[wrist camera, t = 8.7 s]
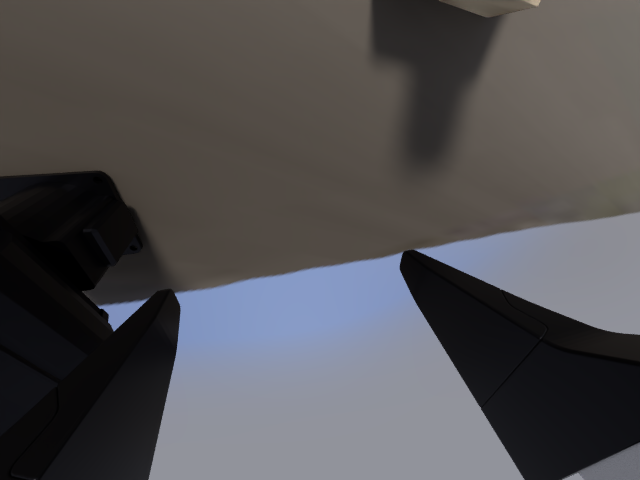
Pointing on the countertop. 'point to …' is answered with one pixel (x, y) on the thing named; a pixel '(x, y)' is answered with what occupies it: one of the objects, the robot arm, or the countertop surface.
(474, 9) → the beech block
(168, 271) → the countertop surface
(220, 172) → the countertop surface
